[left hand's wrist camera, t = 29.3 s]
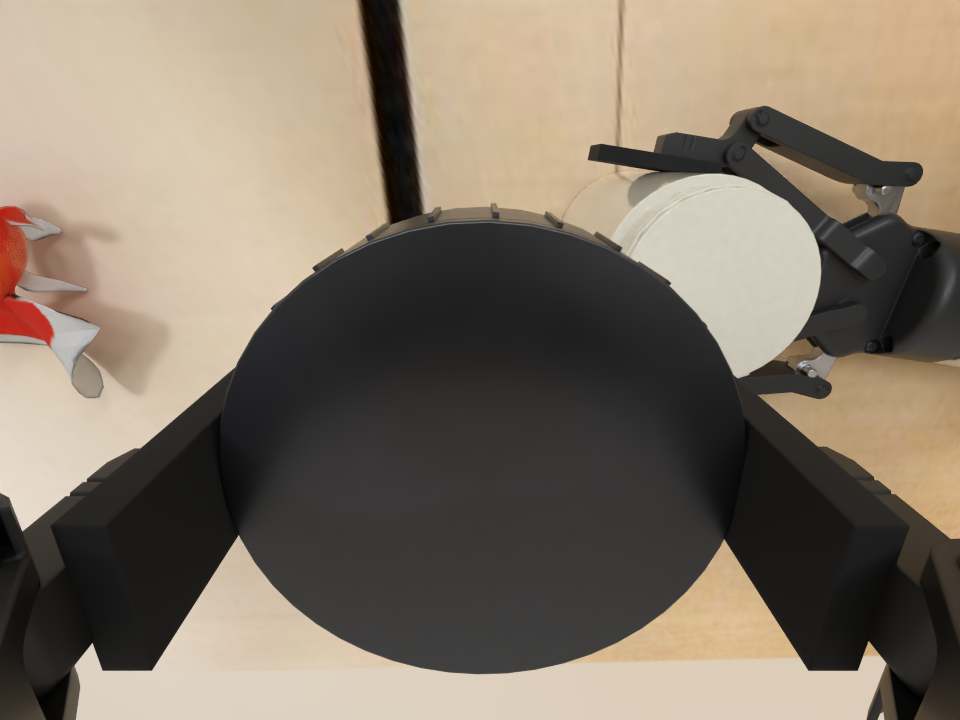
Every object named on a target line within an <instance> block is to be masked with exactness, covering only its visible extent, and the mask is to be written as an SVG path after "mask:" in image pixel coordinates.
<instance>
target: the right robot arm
mask: <svg viewBox="0 0 960 720" xmlns="http://www.w3.org/2000/svg"><path fill="white" fill-rule="evenodd" d="M755 143H756V144H758V145H760V146H762V147H764V148H766V149H768V150H771V151H773V152H775V153H777V154H779V155H781V156H784V157H786V158H788V159H790V160H792V161H794V162H796V163H799V164H801V165H803V166H805V167H807V168H809V169H811V170H814V171H816V172H818V173H820V174H822V175H824V176H826V177H829V178H831V179H833V180H836V181H838V182H842V183H846V184H854V185H853V187H852V191H853V193H855V195H856V197H857V198H858V199H860V200H863V201H865V202H866V203H867V205H868V212H867V213H864V214H862V215H860V216H858V217H856V218H854V219H851V220H849V221H847V222H845V223H843V224H841V223H840V222H839V221H837V220H835V219H833V218H831V217H829V216H827V215H826V214H825V213H824V212H823V211H822V210H821V209H819V208H818V207H817V206H816V205H815V204H814V203H813V202H811V201H810V200H809V199H808V198H807V197H806V196H805V195H804V194H802V193H801V192H800V191H799V190H798V189H797V188H796V187H794V186H793V185H792V184H791V183H790V182H789V181H788V180H787V179H785V178H784V177H783V176H782V175H781V174H780V173H779V172H777V171H776V170H775V169H774V168H773V167H772V166H771V165H770V164H768V163H767V162H766V161H765V160H764V159H763V158H762V157H760V156H759V155H758V154H757V153H756V152H755V151H754V150H753V149H752V147H753V146H754V144H755ZM588 160H591V161H597V162H604V163H610V164H616V165H622V166H628V167H635V168H641V169H647V170H653V171H659V172H684V173H713V174H726V175H734V176H737V177H741V178H745V179H748V180H750V181H752V182H754V183H757V184H759V185H760V186H762V187H763V188H765V189H766V190H768V191H770V192H771V193H773V194H775V195H777V196H779V197H781V198H782V199H784V200H786V201H788V203H789V204H790V205H791V206H792V207H793V208H794V209H795V210H796V211H797V212H799V213H800V215H801V216H802V217H803V218H804V220H805V221H806V222H807V223H808V225H809V227H810V229H811V231H812V232H813V234H814V237H815V239H816V242H817V245H818V249H819V254H820V259H821V280H820V287H819V292H818V296H817V299H816V302H815V305H814V308H813V310H812V312H811V314H810V316H809V318H808V320H807V322H806V324H805V325H804V327H803V328H802V330H801V331H800V333H799V334H798V335H797V337H796V338H795V339H794V340H793V341H797V340H801V339H804V338H806V339H807V340H808V341H809V342H810V344H811V345H812V346H813V347H814V349H813V350H812V351H811V352H810V353H809V354H807V355H798V356H795V357H794V356H790V357H788V359H787V361H786V362H783V361H775V360H771V361H770V362H768V363H767V364H765V365H763V366H762V367H760V368H758V369H756V370H754V371H752V372H750V373H749V375H747V376H744V377H740V378H738V379H739V380H740V381H741V382H743V383H744V384H745V385H746V386H747V387H748V388H750V389H751V390H752V391H753V392H754V393H755V394H757V395H760V394H773V393H787V392H793V393H797V394H801V395H805V396H808V397H812V398H816V399H822V398H825V397H827V396H828V395H829V394H830V393H831V390H832V386H831V384H830V383H829V382H828V381H826V380H825V378H826V377H827V375H828V373H829V371H830V369H831V367H832V366H833V364H834V362H835V360H836V358H837V357H844V356H847V355H850V354H854V353H867V354H874V355H881V356H887V357H894V358H901V359H908V360H915V361H921V362H934V363H936V364H942V365H948V366H956V367H960V234H958V233H952V232H945V231H939V230H933V229H926V228H920V227H914V226H911V225H909V224H907V223H906V222H905V221H904V220H903V219H902V218H901V217H900V216H898V215H897V212H898V208H899V205H900V202H901V198H902V195H903V192H904V188H905V187H908V186H913V185H914V184H916V183H917V182H918V181H919V180H920V179H921V177H922V174H923V169H922V166H921V165H920V164H919V163H915V162H891V161H881V160H879V159H877V158H875V157H873V156H871V155H869V154H867V153H864V152H862V151H860V150H858V149H856V148H854V147H852V146H850V145H848V144H846V143H843V142H841V141H839V140H837V139H835V138H833V137H831V136H829V135H827V134H825V133H823V132H820V131H818V130H816V129H814V128H812V127H810V126H808V125H806V124H804V123H802V122H800V121H797V120H795V119H793V118H791V117H789V116H787V115H785V114H783V113H781V112H779V111H777V110H774V109H772V108H770V107H767V106H762V107H756V108H751V109H747V110H743V111H738V112H737V113H735V114H734V115H733V116H732V118H731V120H730V126H729V127H728V129H727V131H726V132H725V133H724V135H723V136H722V137H721V138H719V139H713V138H707V137H701V136H694V135H689V134H683V133H677V132H676V133H670V134H665V135H661V136H658V137H657V141H656V145H655V149H654V152H647V151H641V150H635V149H629V148H623V147H617V146H611V145H605V144H598V145H592V146H591V147H590V152H589V157H588Z"/></svg>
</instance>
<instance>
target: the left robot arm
mask: <svg viewBox="0 0 960 720" xmlns="http://www.w3.org/2000/svg"><path fill="white" fill-rule="evenodd" d="M235 368H236V367H235ZM235 368H234V369H233V370H232V371H231V372H229V373H228V374H227V375H226V376H225V377H224V378H222V379H221V380H220V381H219V382H218V383H217V384H215V385H214V386H213V387H212V388H211V389H210V390H208V391H207V392H206V393H205V394H204V395H203V396H201V397H200V398H199V399H198V400H197V401H196V402H194V403H193V404H192V405H191V406H190V407H189V408H187V409H186V410H185V411H184V412H183V413H182V414H180V415H179V416H178V417H177V418H176V419H175V420H173V421H172V422H171V423H170V424H169V425H168V426H166V427H165V428H164V429H163V430H162V431H161V432H159V433H158V434H157V435H156V436H155V437H154V438H152V439H151V440H150V441H149V442H148V443H147V444H145V445H144V446H143V447H142V448H141V449H133V450H131V451H129V452H127V453H125V454H123V455H121V456H119V457H117V458H115V459H113V460H111V461H109V462H107V463H106V464H105V465H104V466H102V467H101V468H100V469H99V470H97V471H96V472H95V473H94V474H93V475H91V476H90V477H89V478H88V479H87V482H83V483H81V484H80V485H79V486H78V487H77V488H75V489H74V490H73V491H72V492H70V496H66V497H64V498H63V499H62V500H61V501H59V502H58V503H57V504H56V505H55V506H53V507H52V508H51V509H50V510H48V511H47V512H46V513H45V514H44V515H42V516H41V517H40V518H39V519H37V520H36V521H35V522H34V523H33V524H31V525H30V526H29V527H28V528H26V529H25V530H24V531H23V532H22V530H21V527H20V525H19V522H18V520H17V517H16V514H15V512H14V509H13V507H12V504H11V501H10V499H9V497H7V496H5V495H3V494H1V493H0V720H76V713H77V706H78V699H79V692H80V683H79V678H78V674H77V672H76V669H75V666H74V665H75V664H76V663H77V661H78V660H79V659H80V658H81V656H82V655H83V654H84V653H85V651H86V650H87V649H88V648H89V646H90V645H91V644H92V643H93V645H94V648H95V651H96V653H97V656H98V659H99V662H100V665H101V667H102V670H103V671H152V670H153V668H154V666H155V665H156V663H157V662H158V660H159V659H160V657H161V655H162V654H163V652H164V651H165V649H166V648H167V646H168V645H169V643H170V641H171V640H172V638H173V637H174V635H175V634H176V632H177V630H178V629H179V627H180V626H181V624H182V623H183V621H184V620H185V618H186V616H187V615H188V613H189V612H190V610H191V609H192V607H193V605H194V604H195V602H196V601H197V599H198V598H199V596H200V595H201V593H202V591H203V590H204V588H205V587H206V585H207V584H208V582H209V580H210V579H211V577H212V576H213V574H214V573H215V571H216V570H217V568H218V566H219V565H220V563H221V562H222V560H223V559H224V557H225V555H226V554H227V552H228V551H229V549H230V548H231V546H232V545H233V543H234V541H235V540H236V538H237V537H238V535H239V534H238V531H237V529H236V526H235V524H234V522H233V519H232V517H231V515H230V512H229V509H228V505H227V501H226V497H225V494H224V490H223V486H222V480H221V471H220V462H219V435H220V421H221V416H222V411H223V406H224V401H225V397H226V392H227V389H228V387H229V384H230V381H231V379H232V376H233V373H234V371H235ZM733 376H734V375H733ZM734 379H735V382H736V385H737V388H738V391H739V395H740V398H741V401H742V407H743V413H744V420H745V426H746V458H745V464H744V468H743V473H742V478H741V482H740V487H739V492H738V497H737V501H736V506H735V511H734V515H733V519H732V523H731V525H730V527H729V529H728V532H727V534H726V536H725V538H724V539H725V541H726V542H727V544H728V546H729V547H730V549H731V550H732V552H733V553H734V555H735V557H736V558H737V560H738V561H739V563H740V564H741V566H742V567H743V569H744V571H745V572H746V574H747V575H748V577H749V578H750V580H751V582H752V583H753V585H754V586H755V588H756V589H757V591H758V592H759V594H760V596H761V597H762V599H763V600H764V602H765V603H766V605H767V607H768V608H769V610H770V611H771V613H772V614H773V616H774V617H775V619H776V621H777V622H778V624H779V625H780V627H781V628H782V630H783V631H784V633H785V635H786V636H787V638H788V639H789V641H790V642H791V644H792V646H793V647H794V649H795V650H796V652H797V653H798V655H799V656H800V658H801V660H802V661H803V663H804V664H805V666H806V667H807V669H808V670H809V671H857V670H858V668H859V666H860V663H861V660H862V657H863V655H864V652H865V649H866V646H867V644H868V641H869V642H870V643H871V644H872V646H873V647H874V648H875V649H876V650H877V652H878V653H879V654H880V655H881V657H882V658H883V659H884V660H885V662H886V663H887V664H886V666H885V669H884V672H883V674H882V677H881V679H880V682H879V684H878V687H877V690H876V692H875V695H874V697H873V700H872V702H871V705H870V708H869V710H868V715H867V720H877V719H878V717H879V715H880V713H882V712H884V719H885V720H960V539H950V538H949V537H947V536H946V535H945V534H944V533H942V532H941V531H940V530H939V529H937V528H936V527H935V526H934V525H932V524H931V523H930V522H929V521H928V520H926V519H925V518H924V517H923V516H921V515H920V514H919V513H918V512H916V511H915V510H914V509H913V508H912V507H910V506H909V505H908V504H907V503H905V502H904V501H903V500H902V499H900V498H899V497H898V496H897V495H895V494H891V490H889V489H888V488H887V487H886V486H884V485H883V484H882V483H881V482H879V481H878V480H874V477H873V476H872V475H871V474H870V473H868V472H867V471H866V470H865V469H863V468H862V467H861V466H860V465H858V464H857V463H856V462H855V461H853V460H851V459H849V458H847V457H845V456H844V455H842V454H840V453H838V452H836V451H834V450H832V449H830V448H828V447H817V446H816V445H815V444H814V443H813V442H812V441H810V440H809V439H808V438H807V437H806V436H805V435H803V434H802V433H801V432H800V431H799V430H797V429H796V428H795V427H794V426H793V425H792V424H790V423H789V422H788V421H787V420H786V419H785V418H783V417H782V416H781V415H780V414H779V413H778V412H776V411H775V410H774V409H773V408H772V407H771V406H769V405H768V404H767V403H766V402H765V401H764V400H762V399H761V398H760V397H759V396H758V395H757V394H755V393H754V392H753V391H752V390H751V389H750V388H748V387H747V386H746V385H745V384H744V383H743V382H741V381H740V380H739V379H738V378H737V377H736V376H734Z"/></svg>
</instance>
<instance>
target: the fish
mask: <svg viewBox="0 0 960 720" xmlns="http://www.w3.org/2000/svg"><path fill="white" fill-rule="evenodd" d="M59 233H61V229H60V228H59V227H57V226H55V225H53V224H51V223H49V222H47V221H44V220H42V219H39V218H36V217H30V216H29V215H28V214H27V213H26V212H25V211H23V210H22V209H20V208H18V207H15V206H5V207H0V343H25V344H37V345H48V346H49V347H50V348H51V349H52V351H53V352H54V353H55V354H56V356H57V357H58V358H59V359H60V361H61V362H62V364H63V365H64V367H65V369H66V370H67V372H68V374H69V376H70V379H71V382H72V385H73V386H74V387H75V389H76V390H77V391H78V392H79V393H80V394H81V395H83V396H84V397H85V398H97V397H100V395H101V392H102V390H103V388H104V385H103V381H102V377H101V374H100V371H99V369H98V368H97V367H96V366H95V365H94V364H93V363H92V362H91V361H90V360H89V359H88V358H87V357H85V356H84V355H83V354H82V353H83V351H84V350H85V349H86V347H87V346H88V345H89V344H90V342H91V341H92V339H93V338H94V337H95V335H96V334H97V333H98V331H99V330H100V327H98V326H96V325H94V324H92V323H90V322H88V321H86V320H84V319H82V318H78V317H75V316H71V315H68V314H64V313H61V312H58V311H55V310H53V309H50V308H48V307H45V306H43V305H41V304H38V303H35V302H33V301H30V300H28V299H25V298H22V297H20V296H17V295H16V294H15V286H16V285H18V286H19V287H21V288H23V289H25V290H27V291H32V292H55V291H86V290H87V289H86V288H83V287H79V286H76V285H73V284H70V283H67V282H64V281H60V280H56V279H51V278H46V277H41V276H37V275H34V274H32V273H29V272H28V271H26V270H25V268H26V265H27V260H28V243H27V238H28V239H30V240H39V239H42V238H45V237H47V236H51V235H55V234H59Z"/></svg>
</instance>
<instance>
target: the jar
mask: <svg viewBox="0 0 960 720" xmlns="http://www.w3.org/2000/svg"><path fill="white" fill-rule="evenodd" d="M562 221H563V222H566V223H569V224H571V225H574V226H577V227H579V228H582V229H584V230H585V231H587V232H589V233H591V234H593V235H594V234H595V233H596V231H597V232H599V233H600V234H602V235H604V236H605V237H607V238H608V239H610V240H612V241H613V242H615V243H616V244H618V245H620V246H621V247H622V250H621V252H623V253H624V254H626V255H627V256H629V257H630V258H632V259H633V260H635V261H636V262H639V261H640V262H641V263H643V264H644V265H646V266H647V267H649V268H650V269H652V270H654V271H655V272H657V273H658V274H660V275H661V276H663V277H664V278H666V279H667V280H669V281H670V282H671V285H670V287H671V288H672V289H673V290H674V291H675V292H676V293H677V294H678V295H679V296H680V297H681V298H682V299H683V300H684V301H685V302H686V303H687V304H688V305H689V306H690V307H691V308H692V309H693V310H694V311H695V312H696V313H697V314H698V316H699V317H700V318H701V320H702V321H703V322H705V323H706V325H707V326H708V327H707V328H708V330H709V331H710V332H711V334H712V335H713V337H714V338H715V339H716V341H717V342H718V344H719V346H720V348H721V350H722V352H723V354H724V356H725V358H726V360H727V362H728V364H729V366H730V368H731V370H732V373H733V375H734V376H736V377H737V378H740V377H744V376H747V375H749V373H750V372H752V371H754V370H756V369H758V368H760V367H762V366H763V365H765V364H767V363H768V362H770V361H771V360H773V359H774V358H775V357H776V356H778V355H779V354H780V353H781V352H783V351H784V350H785V349H786V348H787V347H788V346H789V345H790V344H791V343H792V341H793V340H794V339H795V338H796V337H797V335H798V334H799V333H800V331H801V330H802V328H803V327H804V325H805V324H806V322H807V320H808V318H809V316H810V314H811V312H812V310H813V308H814V305H815V302H816V299H817V296H818V292H819V287H820V280H821V259H820V254H819V249H818V245H817V242H816V239H815V237H814V234H813V232H812V231H811V229H810V227H809V225H808V223H807V222H806V221H805V220H804V218H803V217H802V216H801V215H800V213H799V212H797V211H796V210H795V209H794V208H793V207H792V206H791V205H790V204H789V203H788V201H786V200H784V199H782V198H781V197H779V196H777V195H775V194H773V193H771V192H770V191H768V190H766V189H765V188H763V187H762V186H760V185H759V184H757V183H754V182H752V181H750V180H748V179H745V178H741V177H737V176H734V175H726V174H713V173H684V172H655V171H621V172H615V173H612V174H609V175H606V176H604V177H601V178H599V179H597V180H596V181H594V182H592V183H591V184H589V185H588V186H587V187H586V188H584V189H583V190H582V191H581V192H580V193H579V194H578V195H577V196H576V198H575V199H574V200H573V201H572V203H571V204H570V206H569V208H568V209H567V211H566V213H565V215H564V218H563V220H562Z"/></svg>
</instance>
